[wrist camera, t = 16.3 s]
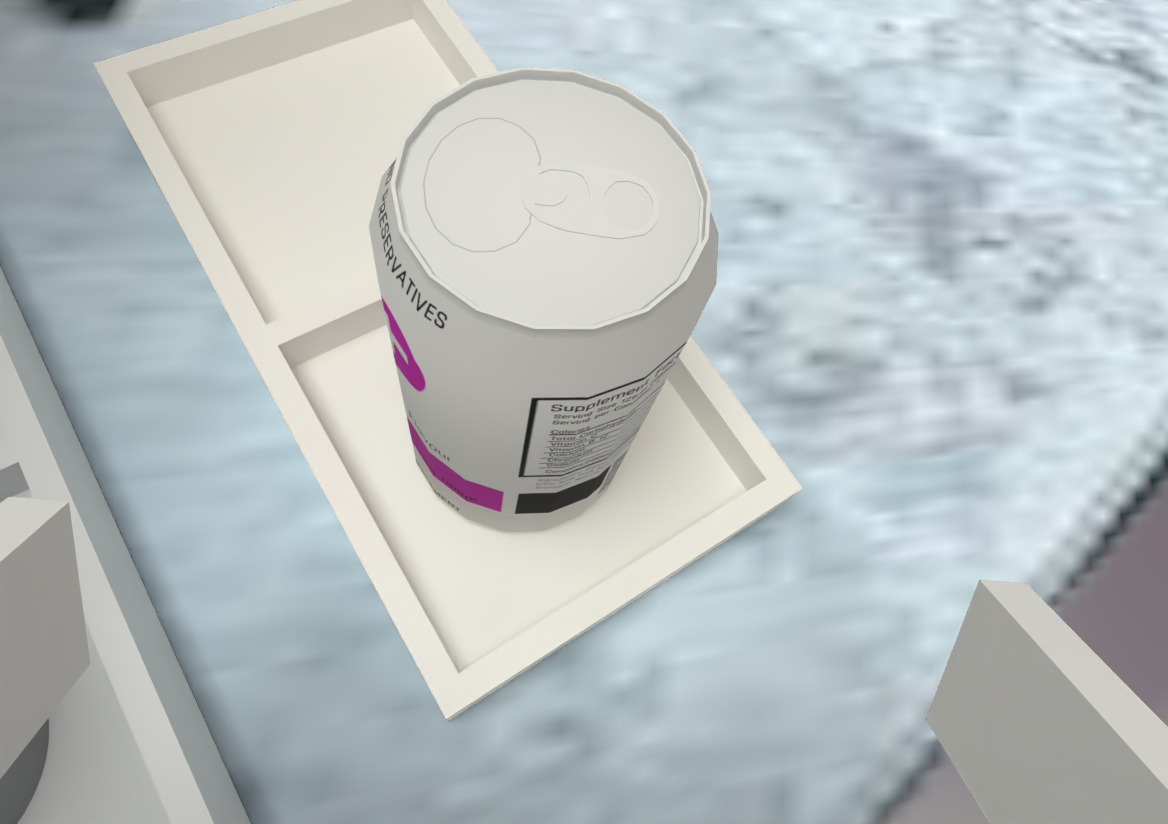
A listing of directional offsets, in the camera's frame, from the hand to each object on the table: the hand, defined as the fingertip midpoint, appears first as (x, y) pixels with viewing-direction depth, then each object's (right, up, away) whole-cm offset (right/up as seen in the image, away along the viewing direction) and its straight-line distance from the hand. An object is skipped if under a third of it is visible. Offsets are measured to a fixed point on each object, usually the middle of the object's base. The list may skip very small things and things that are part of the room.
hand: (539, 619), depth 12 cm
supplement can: (-2, +2, +19) cm, 19 cm away
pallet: (-6, +8, +22) cm, 24 cm away
